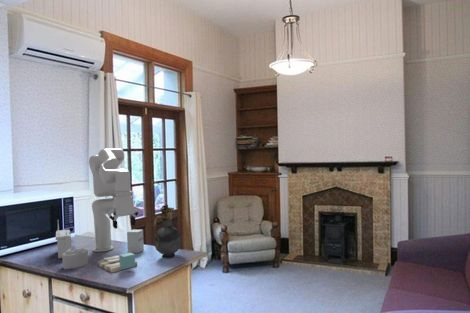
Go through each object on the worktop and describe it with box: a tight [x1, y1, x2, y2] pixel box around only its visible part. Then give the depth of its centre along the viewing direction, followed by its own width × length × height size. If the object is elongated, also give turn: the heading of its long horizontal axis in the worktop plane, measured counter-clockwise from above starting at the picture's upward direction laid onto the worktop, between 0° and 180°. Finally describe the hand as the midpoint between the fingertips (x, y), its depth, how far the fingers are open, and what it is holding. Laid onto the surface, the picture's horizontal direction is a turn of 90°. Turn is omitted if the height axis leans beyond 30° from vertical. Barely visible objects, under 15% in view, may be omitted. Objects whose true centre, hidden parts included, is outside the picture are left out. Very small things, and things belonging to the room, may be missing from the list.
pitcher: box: [153, 204, 182, 259], centre depth 207 cm, size 11×19×30 cm, turn 153°
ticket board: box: [97, 254, 138, 273], centre depth 196 cm, size 18×14×3 cm
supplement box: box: [126, 229, 145, 254], centre depth 223 cm, size 7×7×13 cm
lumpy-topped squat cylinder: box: [61, 247, 89, 270], centre depth 199 cm, size 10×13×9 cm
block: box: [118, 252, 136, 270], centre depth 187 cm, size 5×6×6 cm
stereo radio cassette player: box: [55, 219, 72, 260], centre depth 222 cm, size 21×8×20 cm, turn 25°
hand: (124, 226), depth 191 cm, fingers open, 9 cm apart
